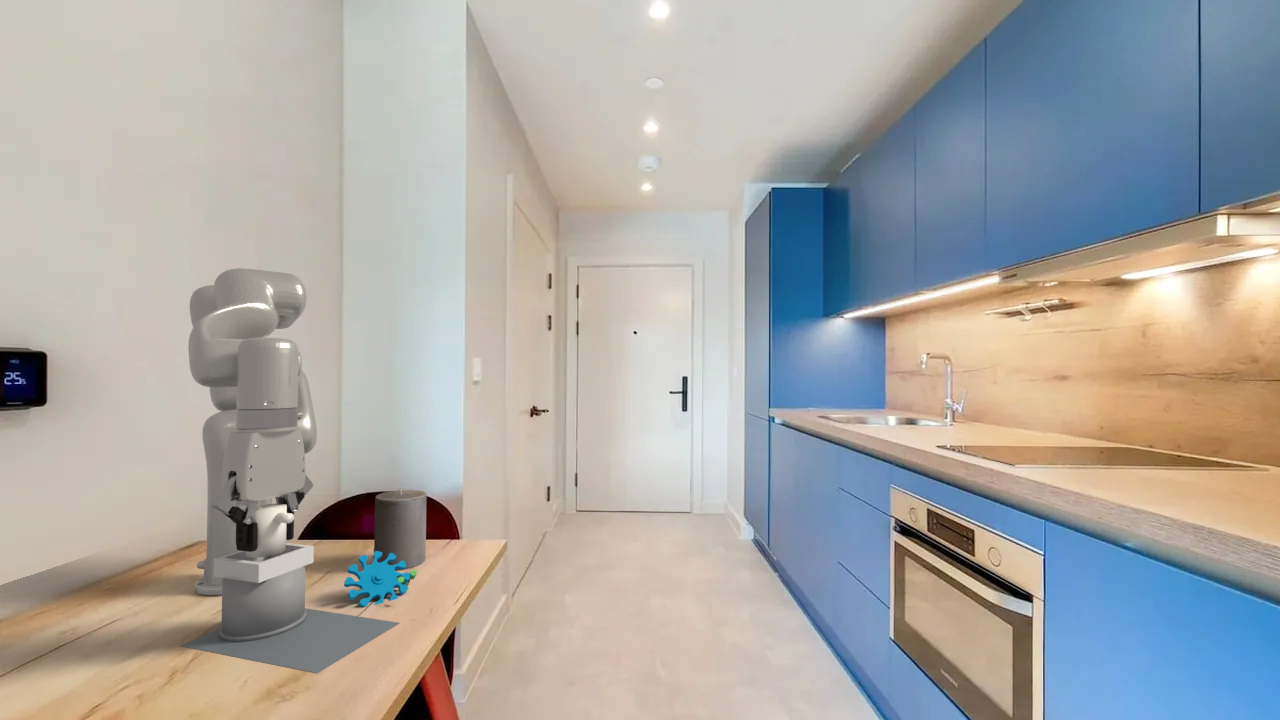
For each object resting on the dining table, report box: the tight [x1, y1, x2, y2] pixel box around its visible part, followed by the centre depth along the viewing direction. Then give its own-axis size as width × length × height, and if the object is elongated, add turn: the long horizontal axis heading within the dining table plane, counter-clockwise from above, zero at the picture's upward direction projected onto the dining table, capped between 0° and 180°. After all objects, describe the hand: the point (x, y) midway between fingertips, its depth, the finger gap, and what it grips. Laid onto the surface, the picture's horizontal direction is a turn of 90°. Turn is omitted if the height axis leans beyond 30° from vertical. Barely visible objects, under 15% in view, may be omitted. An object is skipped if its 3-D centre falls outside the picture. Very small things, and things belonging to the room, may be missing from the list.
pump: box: [245, 503, 295, 558], centre depth 79 cm, size 7×5×6 cm
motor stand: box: [179, 542, 401, 674], centre depth 76 cm, size 24×14×12 cm, turn 73°
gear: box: [343, 551, 418, 608], centre depth 90 cm, size 11×6×10 cm
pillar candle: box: [373, 487, 428, 571], centre depth 108 cm, size 10×10×15 cm
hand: (265, 543), depth 79 cm, fingers closed on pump, 5 cm apart
